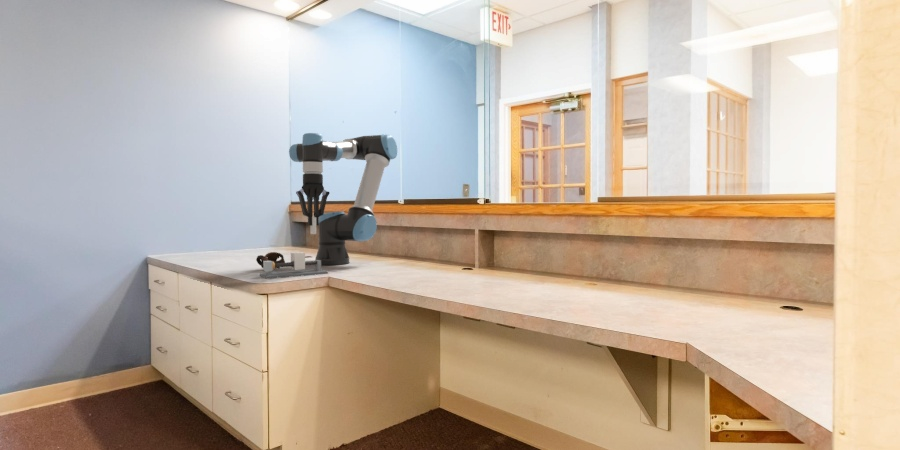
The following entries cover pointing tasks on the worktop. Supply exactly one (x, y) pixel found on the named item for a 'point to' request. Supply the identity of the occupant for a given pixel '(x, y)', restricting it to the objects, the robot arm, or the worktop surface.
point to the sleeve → (298, 260)
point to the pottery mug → (270, 258)
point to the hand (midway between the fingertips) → (313, 233)
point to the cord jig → (270, 266)
